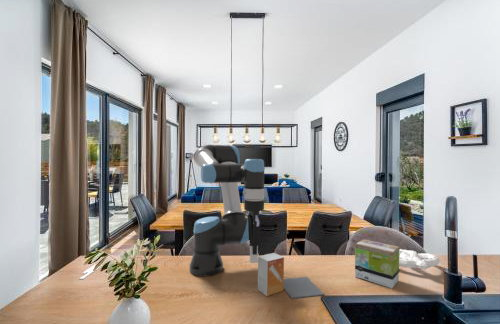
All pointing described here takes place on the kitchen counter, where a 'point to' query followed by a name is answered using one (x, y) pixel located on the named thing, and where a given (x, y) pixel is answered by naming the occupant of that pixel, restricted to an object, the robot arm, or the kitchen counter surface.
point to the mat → (301, 287)
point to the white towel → (417, 259)
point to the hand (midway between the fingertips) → (253, 261)
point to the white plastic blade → (88, 272)
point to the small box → (270, 273)
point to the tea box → (377, 262)
